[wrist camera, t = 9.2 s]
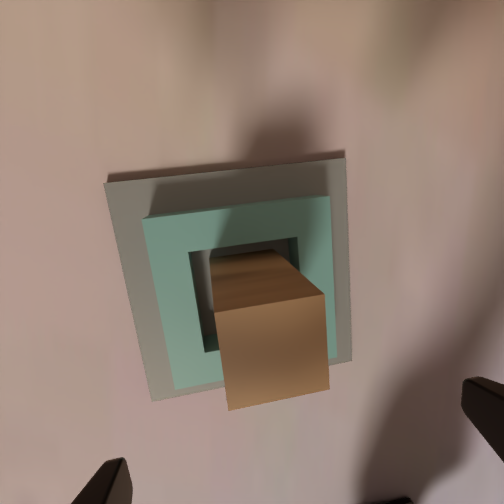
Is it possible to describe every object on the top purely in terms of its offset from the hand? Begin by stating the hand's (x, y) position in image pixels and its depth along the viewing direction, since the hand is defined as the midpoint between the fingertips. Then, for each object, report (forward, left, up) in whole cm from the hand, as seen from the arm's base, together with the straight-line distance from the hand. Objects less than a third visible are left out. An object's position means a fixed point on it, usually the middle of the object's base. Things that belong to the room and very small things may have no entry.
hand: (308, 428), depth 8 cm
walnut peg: (0, 0, -11) cm, 11 cm away
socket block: (0, 0, -12) cm, 12 cm away
